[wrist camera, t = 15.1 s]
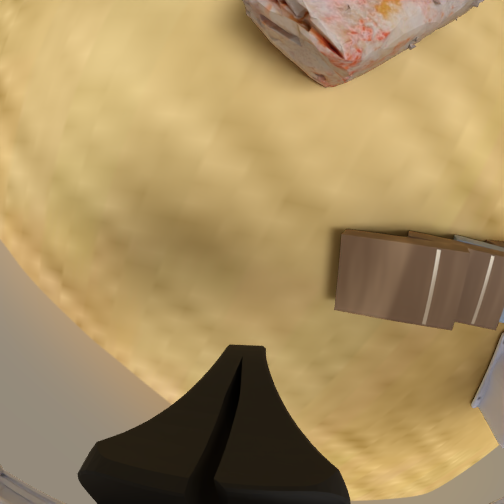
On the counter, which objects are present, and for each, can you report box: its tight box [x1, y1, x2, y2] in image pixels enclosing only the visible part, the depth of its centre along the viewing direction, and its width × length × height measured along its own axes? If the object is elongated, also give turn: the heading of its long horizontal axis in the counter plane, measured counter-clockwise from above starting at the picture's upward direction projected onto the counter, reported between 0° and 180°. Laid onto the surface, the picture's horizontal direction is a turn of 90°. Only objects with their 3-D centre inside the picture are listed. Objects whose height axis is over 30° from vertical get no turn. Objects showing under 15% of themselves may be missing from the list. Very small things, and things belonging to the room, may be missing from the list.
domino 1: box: [334, 229, 470, 330], centre depth 18 cm, size 2×5×8 cm
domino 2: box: [408, 231, 504, 330], centre depth 17 cm, size 2×5×8 cm
